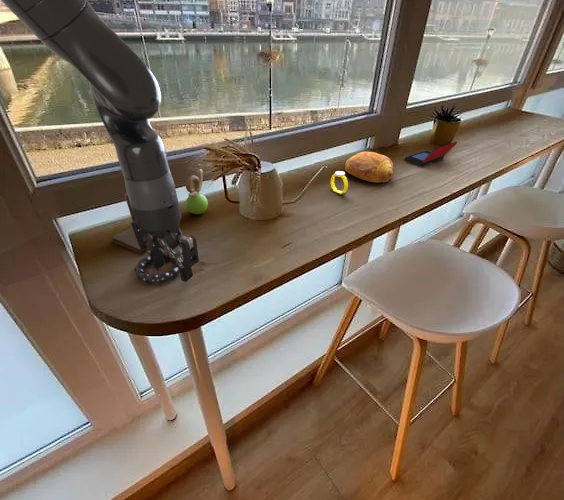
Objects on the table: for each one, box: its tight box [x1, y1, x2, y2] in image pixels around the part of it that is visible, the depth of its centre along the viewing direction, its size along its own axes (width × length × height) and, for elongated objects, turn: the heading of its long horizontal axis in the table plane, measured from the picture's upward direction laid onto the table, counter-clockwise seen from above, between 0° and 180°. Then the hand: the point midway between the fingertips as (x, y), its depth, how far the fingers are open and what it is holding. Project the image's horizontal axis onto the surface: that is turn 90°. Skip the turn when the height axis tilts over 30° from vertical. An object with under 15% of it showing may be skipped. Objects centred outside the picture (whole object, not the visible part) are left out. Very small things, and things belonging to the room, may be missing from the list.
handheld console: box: [404, 141, 458, 167], centre depth 111 cm, size 12×11×7 cm
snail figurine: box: [185, 163, 209, 215], centre depth 81 cm, size 5×6×12 cm
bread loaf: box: [344, 150, 394, 183], centre depth 102 cm, size 14×16×8 cm
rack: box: [111, 192, 147, 255], centre depth 72 cm, size 9×9×12 cm
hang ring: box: [134, 251, 183, 285], centre depth 66 cm, size 9×9×2 cm
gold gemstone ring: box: [329, 170, 349, 195], centre depth 92 cm, size 6×3×6 cm, turn 35°
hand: (173, 272), depth 64 cm, fingers open, 7 cm apart
